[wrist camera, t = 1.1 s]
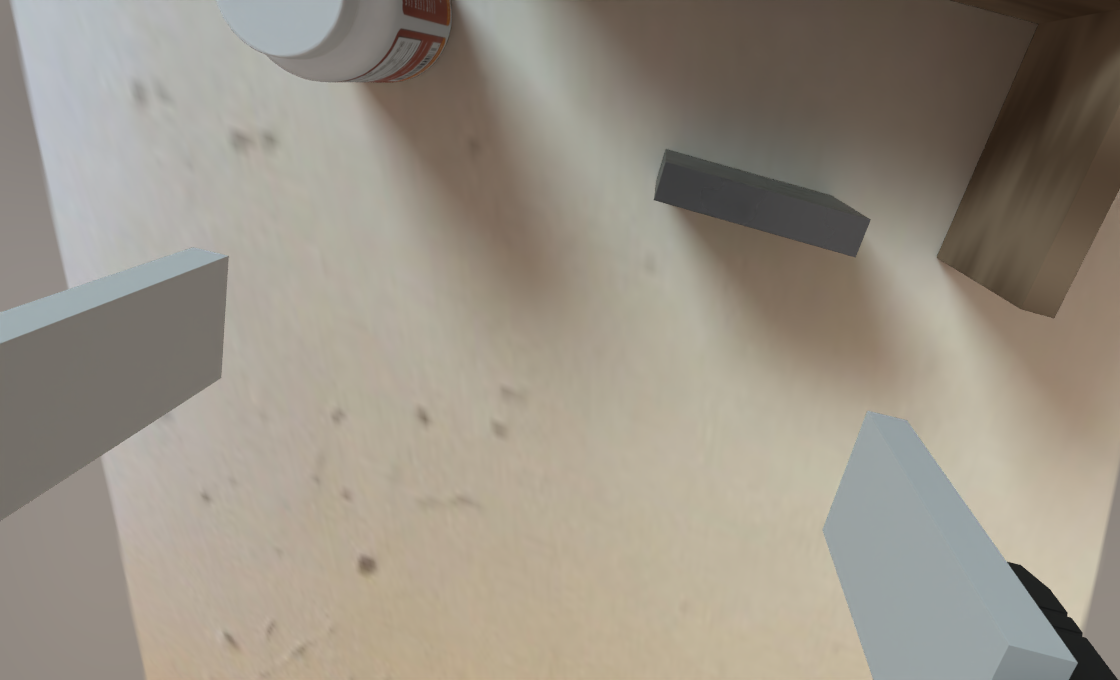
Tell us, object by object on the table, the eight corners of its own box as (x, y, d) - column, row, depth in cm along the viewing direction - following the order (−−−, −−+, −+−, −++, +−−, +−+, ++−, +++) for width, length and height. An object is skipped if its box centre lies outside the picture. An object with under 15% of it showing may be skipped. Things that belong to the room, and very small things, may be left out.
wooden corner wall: (489, -157, 33) (427, -243, 24) (1080, 1, 32) (1230, -32, 23) (435, 115, 37) (366, 122, 28) (961, 264, 36) (1054, 318, 27)
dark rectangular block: (665, 149, 36) (665, 161, 29) (832, 195, 36) (870, 219, 29) (656, 180, 36) (654, 200, 30) (820, 227, 36) (855, 257, 29)
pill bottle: (339, -78, 35) (198, -151, 24) (468, -40, 35) (383, -97, 24) (316, 63, 37) (178, 52, 26) (438, 99, 37) (347, 102, 26)
